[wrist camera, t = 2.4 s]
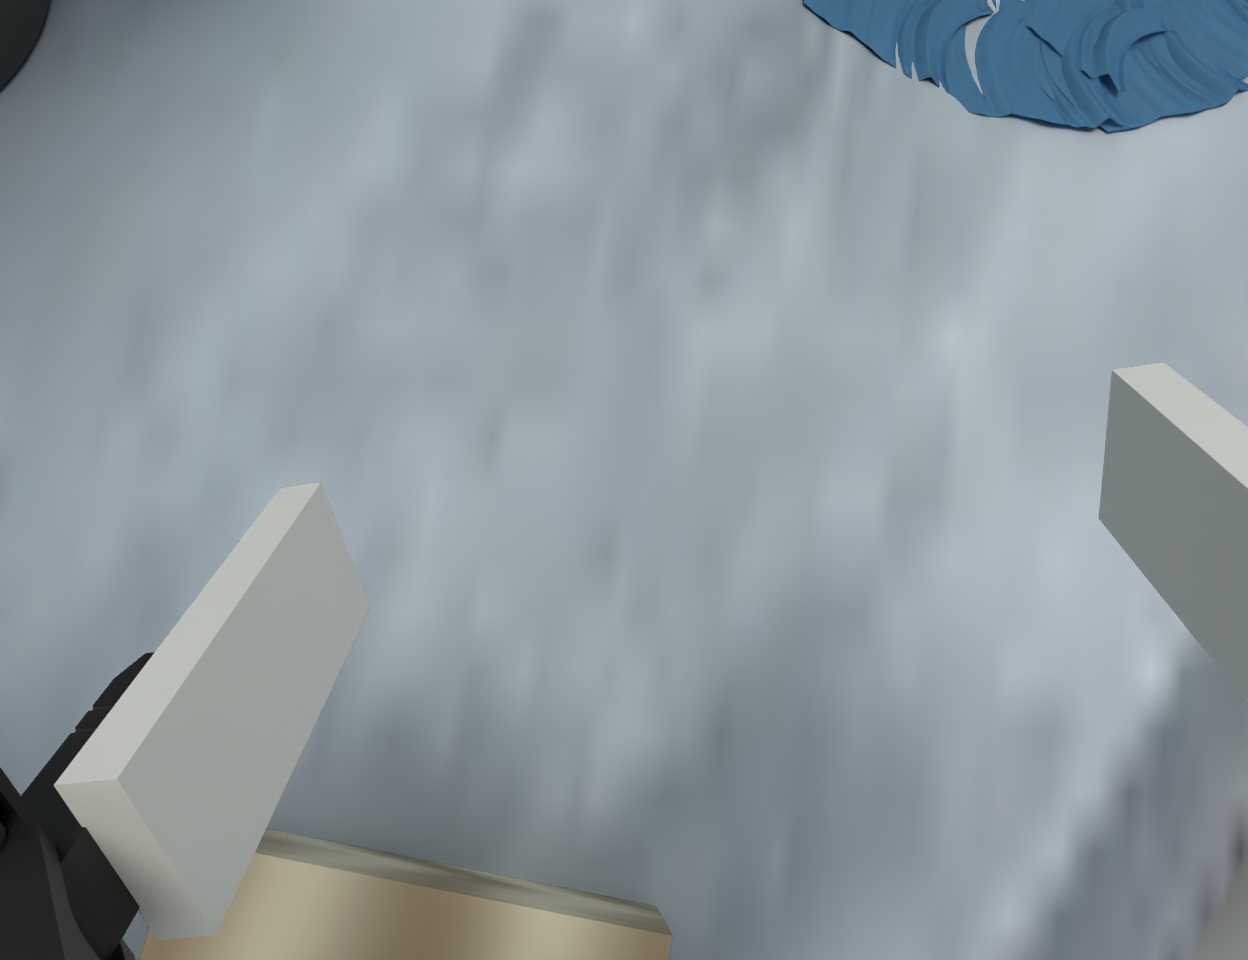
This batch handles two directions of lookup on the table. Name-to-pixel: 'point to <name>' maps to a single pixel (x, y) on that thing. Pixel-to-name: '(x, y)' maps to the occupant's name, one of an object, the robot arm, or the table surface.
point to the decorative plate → (1064, 54)
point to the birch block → (409, 913)
